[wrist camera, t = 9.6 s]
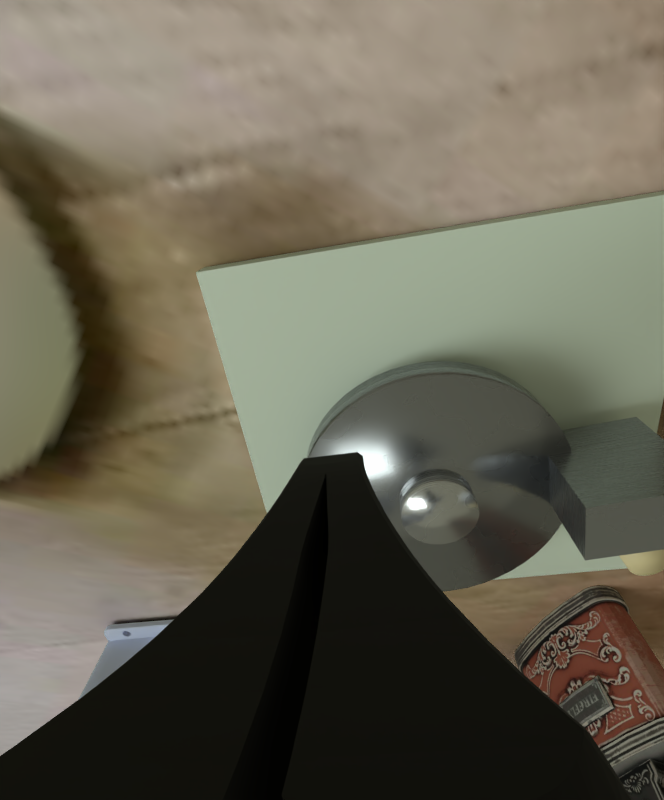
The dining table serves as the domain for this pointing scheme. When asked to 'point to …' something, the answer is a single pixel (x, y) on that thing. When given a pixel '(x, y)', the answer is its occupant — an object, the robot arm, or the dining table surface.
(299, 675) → the robot arm
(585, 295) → the board
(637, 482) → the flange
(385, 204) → the dining table surface
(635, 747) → the lighter
